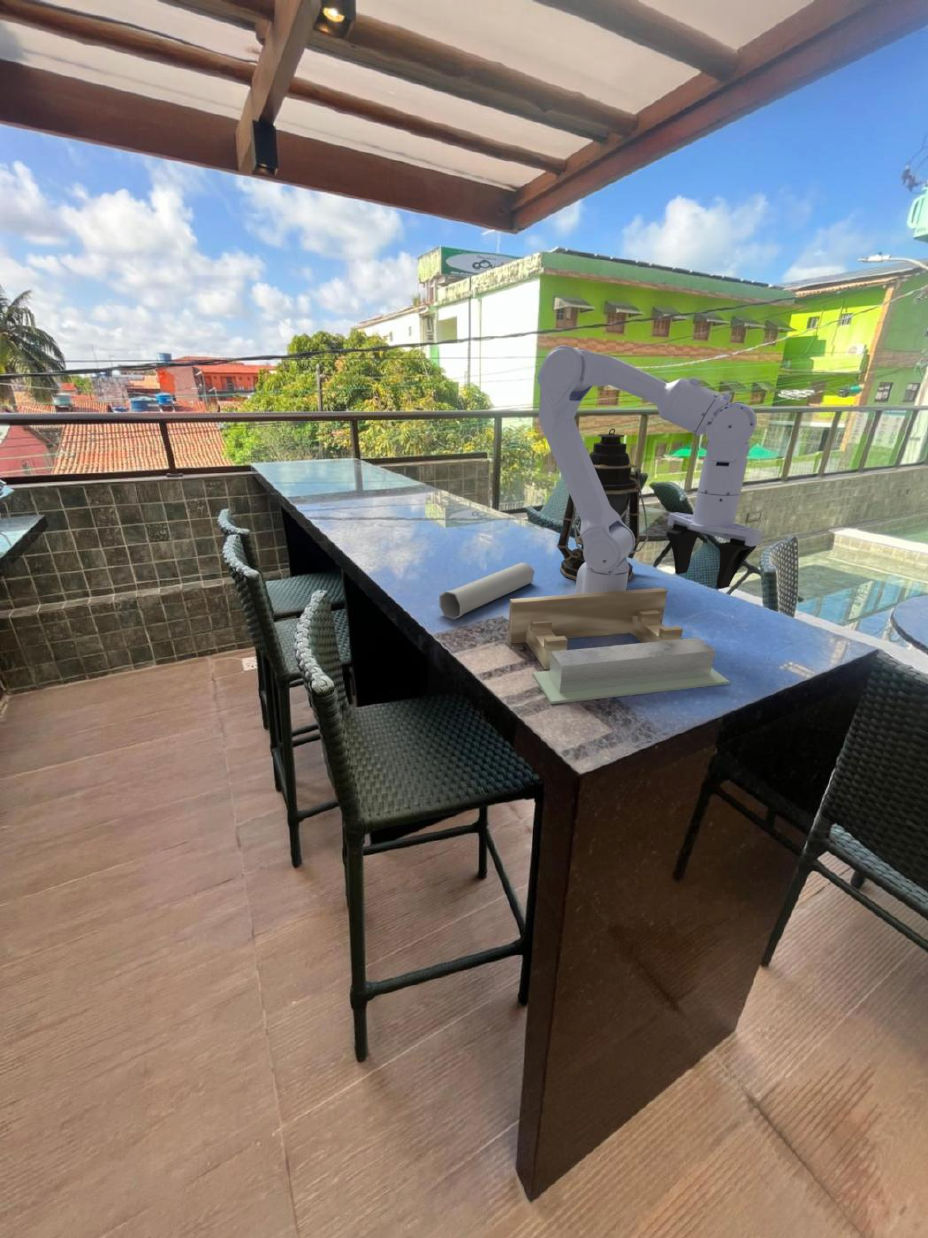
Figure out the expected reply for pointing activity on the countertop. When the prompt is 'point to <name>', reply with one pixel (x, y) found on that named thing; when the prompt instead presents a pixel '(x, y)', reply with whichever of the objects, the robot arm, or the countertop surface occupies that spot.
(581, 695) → the mat
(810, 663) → the countertop surface
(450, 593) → the tube
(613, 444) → the lantern
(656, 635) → the rail stand
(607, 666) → the rail
